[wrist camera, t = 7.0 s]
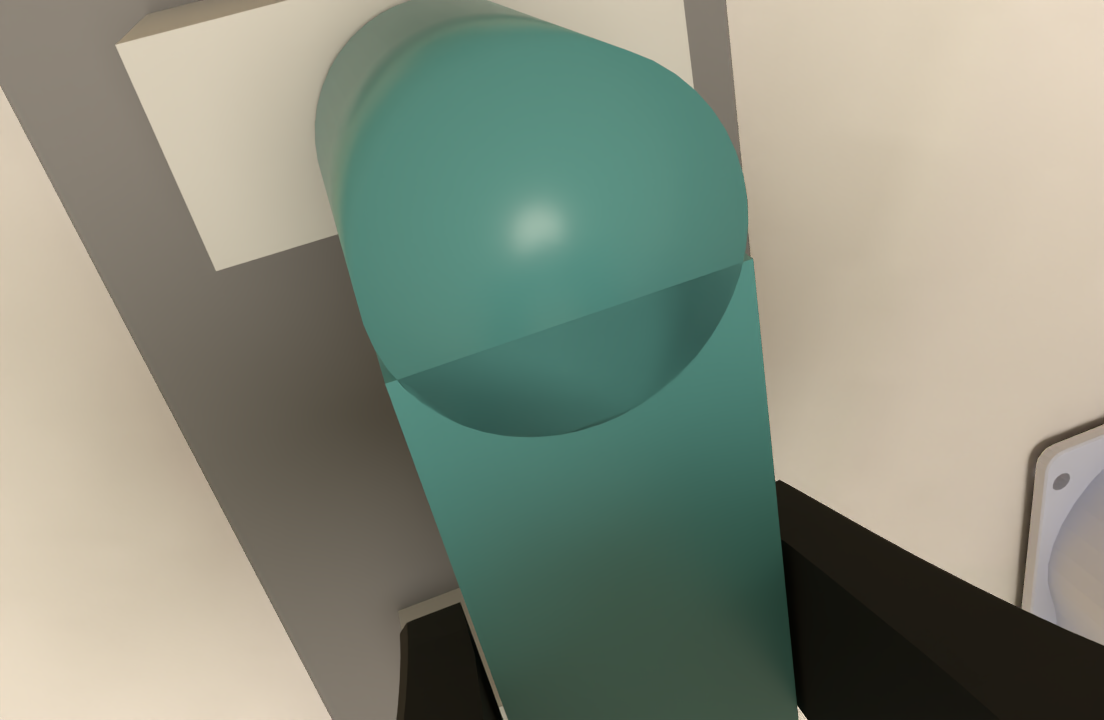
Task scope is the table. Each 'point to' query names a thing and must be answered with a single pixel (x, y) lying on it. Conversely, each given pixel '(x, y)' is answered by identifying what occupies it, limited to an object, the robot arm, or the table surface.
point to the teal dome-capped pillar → (568, 356)
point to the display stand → (272, 280)
